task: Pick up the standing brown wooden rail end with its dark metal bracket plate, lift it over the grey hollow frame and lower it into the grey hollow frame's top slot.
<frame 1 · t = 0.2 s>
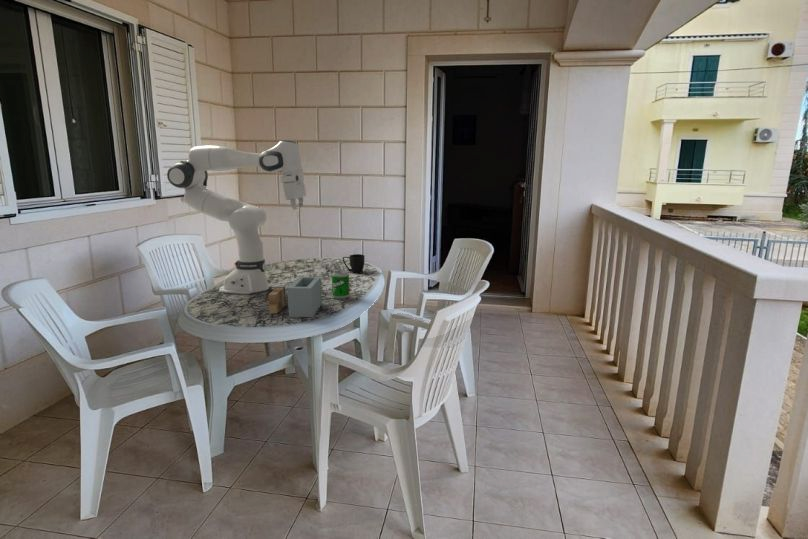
hand: (298, 208, 205), 39 cm above the table, tool pointing down, fingers open, 8 cm apart
soda can: (340, 298, 202), on the table
tow hook: (341, 290, 214), on the table
mug: (353, 272, 249), on the table
grey hollow frame: (306, 310, 184), on the table
rail end: (277, 309, 185), on the table
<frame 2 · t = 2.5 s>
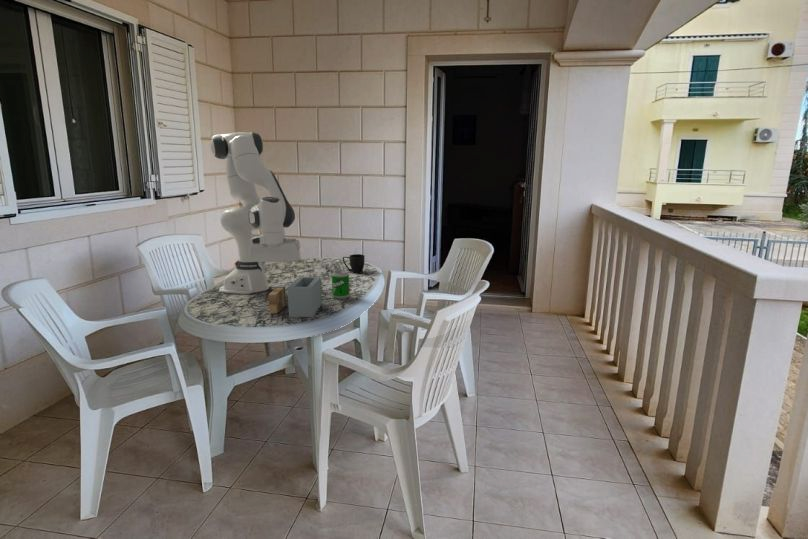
hand: (276, 272, 182), 16 cm above the table, tool pointing down, fingers open, 8 cm apart
nothing on the table moved.
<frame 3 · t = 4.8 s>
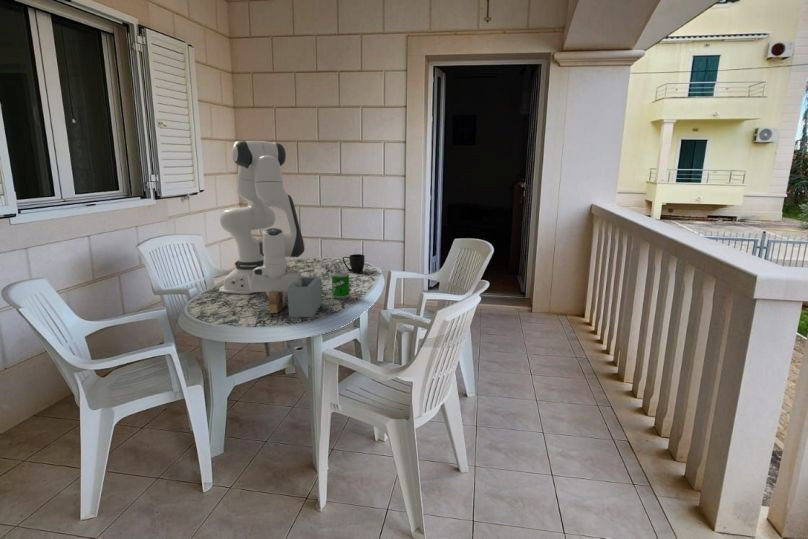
hand: (277, 302, 185), 3 cm above the table, tool pointing down, fingers closed on rail end, 3 cm apart
rail end: (277, 309, 185), on the table, touching gripper
everything else where it was.
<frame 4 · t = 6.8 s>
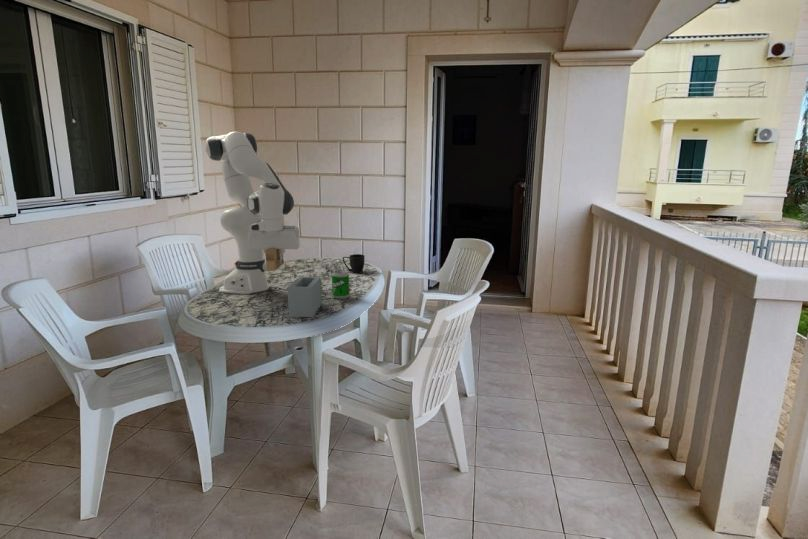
hand: (274, 259, 181), 21 cm above the table, tool pointing down, fingers closed on rail end, 3 cm apart
rail end: (275, 267, 181), point 18 cm above the table, touching gripper
everything else where it was.
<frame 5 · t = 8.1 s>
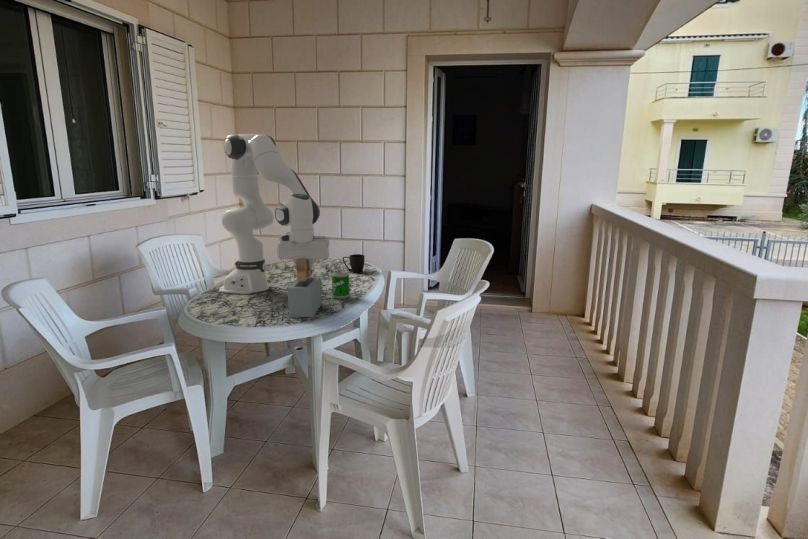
hand: (304, 270, 180), 17 cm above the table, tool pointing down, fingers closed on rail end, 3 cm apart
rail end: (304, 277, 181), point 14 cm above the table, touching gripper
everything else where it was.
when the fingers open (13 cm above the table, at t = 9.1 s): rail end drops 3 cm, resting on grey hollow frame.
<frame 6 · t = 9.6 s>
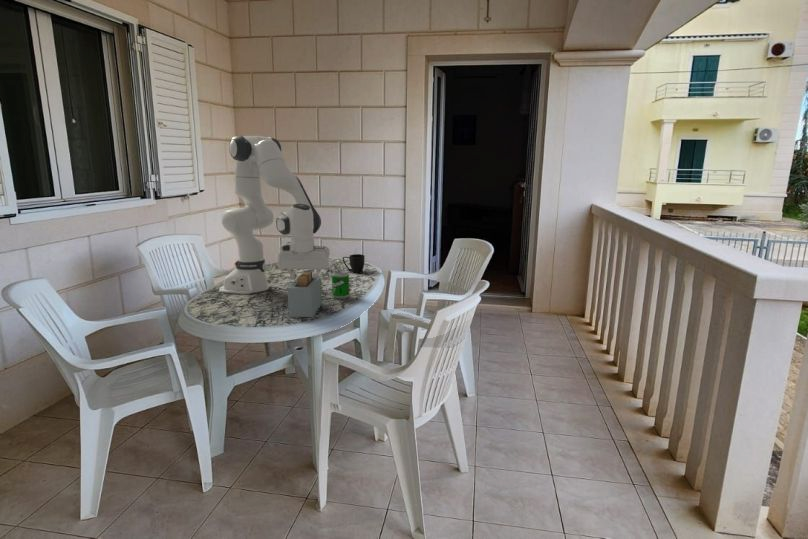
hand: (304, 279, 181), 13 cm above the table, tool pointing down, fingers open, 8 cm apart
rail end: (305, 294, 182), point 7 cm above the table, touching grey hollow frame
everything else where it was.
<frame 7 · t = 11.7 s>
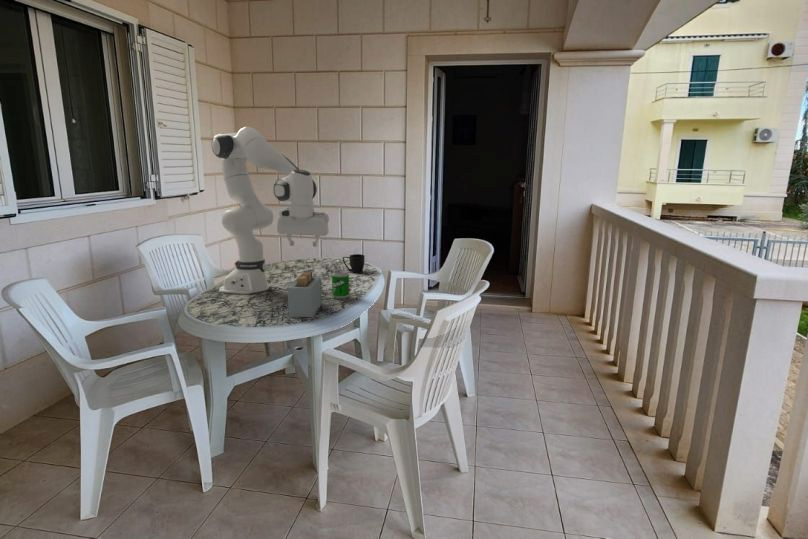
hand: (303, 245, 182), 26 cm above the table, tool pointing down, fingers open, 8 cm apart
nothing on the table moved.
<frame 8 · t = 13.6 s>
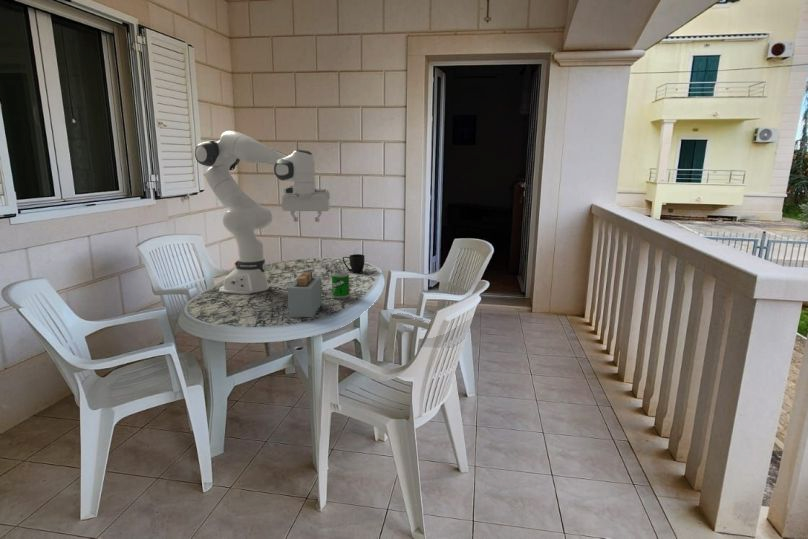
hand: (306, 221, 195), 34 cm above the table, tool pointing down, fingers open, 8 cm apart
nothing on the table moved.
at the end: rail end 0.0 cm off-centre on the grey hollow frame, point 7.0 cm above the grey hollow frame's base; rail end tilted 0°; the gripper is holding nothing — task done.
